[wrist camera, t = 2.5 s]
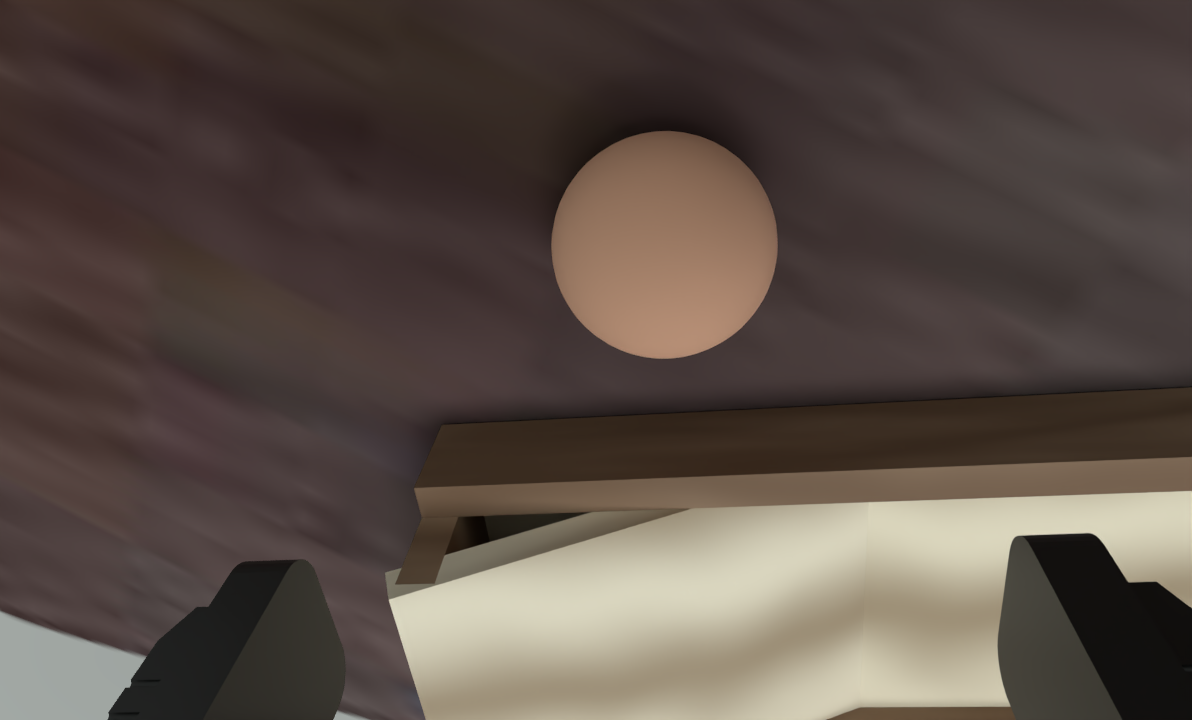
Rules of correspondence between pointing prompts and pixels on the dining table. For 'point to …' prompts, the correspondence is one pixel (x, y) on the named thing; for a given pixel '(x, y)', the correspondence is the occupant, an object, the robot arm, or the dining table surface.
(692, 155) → the ball
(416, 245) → the dining table surface
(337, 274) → the dining table surface
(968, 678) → the track
